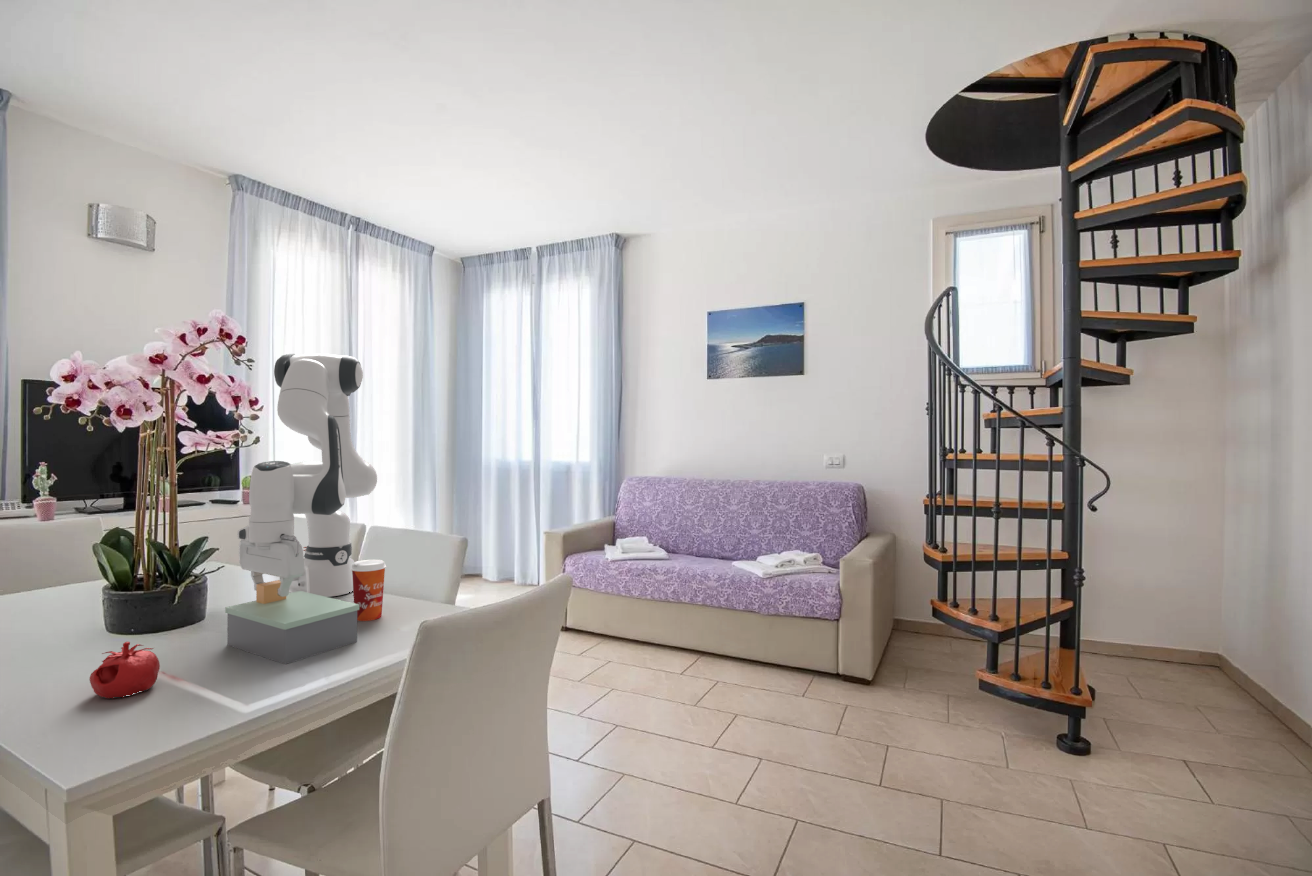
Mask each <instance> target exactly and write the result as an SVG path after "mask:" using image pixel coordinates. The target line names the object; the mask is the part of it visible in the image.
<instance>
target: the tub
mask: <svg viewBox="0 0 1312 876" xmlns="http://www.w3.org/2000/svg"><path fill="white" fill-rule="evenodd" d="M226 623H227V628H226V629H227V631H226V632H227V636H226V637H227V642H226V644H227V646H229V647H232V648H234V649H235V648H236V649H238V650H241V651H245V652H246V653H251V654H254V655H256V656H259V657H262V658H265V659H268V660H272V661H274V662H277V663H280V664H283V665H287V664H290V663H294V662H297V661H301V660H303V659H306V658H309V657H313V656H315V655H320V654H322V653H325V652H326V653H327V652H328V651H331V650H336V649H338V648H341V647H344V646H348V645H350V644H355V643H357V642H358V620H357V611H353V612H349V613H345V614H342V615H338V616H334V617H331V618H327V619H323V620H319V621H316V622H312V623H308V624H304V625H301V626H297V627H293V628H289V629H286V630H284V629H280V628H277V627H273V626H270V625H266V624H263V623H259V622H256V621H252V620H249V619H245V618H242V617H238V616H235V615H231V614H228V613H227V622H226Z"/></svg>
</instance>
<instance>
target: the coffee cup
mask: <svg viewBox="0 0 1312 876" xmlns="http://www.w3.org/2000/svg"><path fill="white" fill-rule="evenodd" d="M385 568H387V565H386V563H385V561H384V560H382V559H364V560H357V561H354V563H353V565H352V568H351V570H352V576H353V592H352V593H353V595H352V596H353V603H355V604H359V610H357V622H369V621H370V622H371V621H374V620H378V619H380V618H382V615H383V603H384V602H383V601H384V589H385V588H384V585H385V572H386V569H385Z"/></svg>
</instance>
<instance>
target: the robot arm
mask: <svg viewBox="0 0 1312 876" xmlns="http://www.w3.org/2000/svg"><path fill="white" fill-rule="evenodd" d="M362 368H363V367H362V365H361V363H360V361H359V360H358V359H357V358H356V357H354V356H349V355H345V354H343V355H340V354H339V355H338V354H330V353H321V352H320V353H303V354H301V353H300V354H295V353H289V354H283V355H281V356H280V357H279V358H277V360H276V361H275V365H274V368H273V369H274V370H273V377H274V382H276V385H277V386H278V387H279V388H280V390H279V394H278V399H277V410H276V411H277V415H278V418H279V420H280V421H281V422H282V423H283V424H284V425H285V426H286V427H287V428H289V429H290V430H292V431H294V432H295V433H298V434H300V435H304V436H307V439H308V441H309V443H310V444H311V445H312V446H313V447H314V448H316V449H319V450H321V461H300V462H295V463H289V462H288V461H282V460H270V461H263V462H258V463H257V464H255V465H254V466H253V467H252V471H251V476H250V480H249V481H250V483H249V490H248V491H249V493H248V503H249V506H250V515H249V518H248V525H247V526H245V527H243V528H240V529H238V530H237V535H236V536H237V539H238V540H239V543H238V561H239V565H240V568H241V569H242V570H245V571H250V577H251V580H252V583H253V589H254V591H256V584H261V583H266V582H264V578H263V577H264V576H263V575H269V576H274V577H279V580H280V582H281V585H280V588H277V591H278V593H277V595H278V596H282V597H284V596H288V595H289V593H293V592H297V591H303V592H307V593H311V594H316V595H320V596H325V597H329V598H332V597H336V596H342V595H346V594H350V593H353V592H352V591H353V576H352V570H351V568H352V565H353V563H354V562H355V561H354V559H353V558H351V555H352V552H353V551H352V550H353V546H352V542H351V520H350V518H349V515H347V514H346V513H345V512H343V511H342V510H340V509H341V508H342V507H343V506H344V505H345V501H346V498H347V499H349V498H351V499H353V498H359V497H363V496H367V495H368V496H369V495H371V493H373V491H374V490H375V488H376V486H377V483H378V475H377V471H376V470H375V467H374V466H372V464H370V463H369V462H367V461H366V460H365V459H363V457H361V455H359V453H358V452H357V451H356V447H355V446H354V444H353V441H352V435H351V424H350V421H351V420H350V418H351V417H350V416H351V415H350V414H351V412H350V401H349V396H351V394H352V393H355V392H356V391H358V389H360V387H361V384H362V382H363V378H364V372H363V369H362ZM302 514H304V516H305V519H306V524H307V537H308V538H307V541H308V544H307V546H304V547H303V546H302V545H301V543H300V541H299V540H298V538H297V536H295V515H302ZM349 592H350V593H349Z"/></svg>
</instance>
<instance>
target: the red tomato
mask: <svg viewBox="0 0 1312 876" xmlns="http://www.w3.org/2000/svg"><path fill="white" fill-rule="evenodd" d="M130 645H131V642H130V641H125V642H124V643H123V644H122V647H120V650H121V651H118V652H116V651H113V650H110V651H106V652H102V653H101V655H103V654H109V655H108V656H107V657H105V658H104V659H103V660H101V662H102V664H100V665H99V666H98V667H97V668H96V669H95V670H93V671H92V672H91V674H90V676H89V683H90V685H91V688H92V691H93V693H94V694H96V695H97V696H99V697H101V698H103V697H105V698H104V699H110V698H112V699H114V698H113V697H122V698H124V697H123V696H126V695H132V694H133V693H137V692H139V691H144V690H146V691H147V689H148V690H150V689H152V687H153V686H154V685H155V683H156V681H157V680H158V675H159V672H160V668H161V664H160V661H159V658H158V656H157V655H156V654H155V653H154V652H153V651H151V650H153V649H155V647H152V648H149V647H145V648H141V649H138V650H137V649H136V648H137V647H142V646H144V644H139V643H137V644H135V645H134V646H131V647H130ZM144 692H145V691H144ZM137 694H138V693H137Z"/></svg>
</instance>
